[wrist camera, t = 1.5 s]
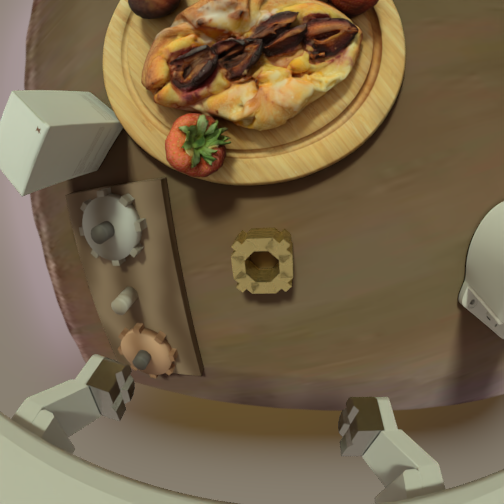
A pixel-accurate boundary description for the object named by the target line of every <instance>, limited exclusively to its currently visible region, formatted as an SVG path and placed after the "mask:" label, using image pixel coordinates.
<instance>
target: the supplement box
mask: <svg viewBox="0 0 504 504" xmlns="http://www.w3.org/2000/svg"><path fill="white" fill-rule="evenodd" d="M122 128H123V127H122V125H121V123H120V122H119V120H118V119H117V117H116V115H115V113H114V112H113V111H112V110H111V109H110V108H109V107H107V106H106V105H105V104H104V103H103V102H101V101H100V100H99V99H98V98H96V97H95V96H94V95H93V94H92V93H90V92H79V91H53V90H25V91H12V92H11V95H10V97H9V100H8V102H7V105H6V107H5V110H4V112H3V115H2V118H1V121H0V169H1V171H2V172H3V173H4V174H5V176H6V177H7V178H8V179H9V181H10V182H11V183H12V184H13V186H14V187H15V188H16V189H17V191H18V192H19V193H20V195H21V196H25V195H27V194H30V193H32V192H35V191H38V190H40V189H43V188H46V187H49V186H51V185H54V184H57V183H60V182H63V181H66V180H69V179H72V178H75V177H78V176H81V175H84V174H88V173H91V172H94V171H97V170H98V169H99V167H100V165H101V163H102V162H103V160H104V158H105V156H106V155H107V153H108V151H109V150H110V148H111V146H112V145H113V143H114V141H115V140H116V138H117V136H118V135H119V133H120V132H121V130H122Z"/></svg>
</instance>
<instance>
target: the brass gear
mask: <svg viewBox="0 0 504 504" xmlns="http://www.w3.org/2000/svg"><path fill="white" fill-rule="evenodd" d="M232 248H233V249H234V251H233V253H232V255H231V261H232V269H233V277H234V279H235V280H236V281H237V282H238V283H237V286H236V288H238V289H239V290H240V291H241V292H244V291H245V290H246V289H247V290H248V291H250V292H251V293H252V294H265V293H277V292H278V291H279V290H280V289H283V290H284V291H285V292H286V291H287V290H289V289H290V288H291V287H292V278H293V243H292V242H291V234H290V233H289V232H288V231H287V230H286V229H284V230H283V231H282V232H279V231H278V230H277V229H276V228H251V230H250V231H249V232H248V233H247V234H246V233H245V232H244V231H243V230H242V231H241V232H240V233H239V234H238V236H237V237H236V239H235V241H234V243H233V245H232ZM254 251H269V252H270V253H271V254H272V255H274V256H275V257H276V258H277V259H278V260H279V263H278V264H277V265H276V266H275V267H274V268H273V269H259V268H258V267H257V266H256V265H255V264H253V263H252V262H251V261H250V255H251V254H252V253H253V252H254Z"/></svg>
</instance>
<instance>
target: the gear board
mask: <svg viewBox="0 0 504 504" xmlns="http://www.w3.org/2000/svg"><path fill="white" fill-rule="evenodd" d="M65 196H66V201H67V206H68V211H69V215H70V220H71V224H72V228H73V233H74V237H75V241H76V244H77V248H78V252H79V256H80V259H81V263H82V266H83V269H84V273H85V276H86V279H87V282H88V286H89V289H90V292H91V295H92V298H93V301H94V303H95V306H96V309H97V312H98V315H99V317H100V320H101V323H102V325H103V328H104V330H105V333H106V335H107V338H108V340H109V343H110V345H111V348H112V350H113V352H114V355H115V357H116V359H117V361H119V362H122V363H125V364H128V365H130V367H131V368H133V369H134V370H135V371H136V370H137V369H138V370H140V371H142V372H145V373H148V374H149V375H150V377H152V378H157V376H158V375H161V374H164V373H166V374H168V375H170V374H171V373H176V374H185V375H194V376H202V373H203V370H204V368H203V364H202V360H201V356H200V352H199V348H198V343H197V339H196V335H195V331H194V326H193V322H192V318H191V313H190V309H189V304H188V299H187V295H186V290H185V285H184V280H183V275H182V270H181V265H180V259H179V254H178V248H177V243H176V237H175V231H174V225H173V219H172V213H171V207H170V200H169V193H168V186H167V179H166V177H165V178H157V179H150V180H143V181H136V182H129V183H123V184H117V185H111V186H105V187H99V188H94V189H88V190H83V191H78V192H73V193H70V194H67V195H65Z"/></svg>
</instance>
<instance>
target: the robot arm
mask: <svg viewBox="0 0 504 504" xmlns="http://www.w3.org/2000/svg"><path fill="white" fill-rule="evenodd" d="M458 300H459V302H460V303H461V304H462V305H463V306H464V307H465V308H466V309H467V310H469V311H470V312H471V313H472V314H474V315H475V316H476V317H477V318H478V319H480V320H481V321H482V322H483V323H484V324H485V325H487V326H488V327H489V328H490V329H491V330H492V331H494V332H495V333H496V334H497V335H498V336H499V337H500V338H502V339H504V202H501V203H500V204H498V205H496V206H495V207H494V208H493V209H491V210H490V211H489V212H488V214H487V215H486V216H485V217H484V218H483V220H482V221H481V223H480V224H479V226H478V228H477V230H476V232H475V234H474V236H473V238H472V241H471V244H470V247H469V251H468V255H467V262H466V276H465V281H464V283H463V286H462V288H461V291H460V294H459V298H458ZM471 300H472V301H471ZM131 372H132V371H131V367H130V365H128V364H125V363H122V362H119V361H115V360H112V359H109V358H106V357H103V356H100V355H97V354H95V355H93V356H92V357H91V358H90V359H89V361H88V362H87V363H86V365H85V366H84V368H83V369H82V370H81V372H80V373H79V374H78V376H77V377H76V379H75V380H72V379H71V380H69V381H66V382H64V383H62V384H59V385H57V386H55V387H52V388H50V389H48V390H45V391H43V392H41V393H38V394H36V395H33V396H31V397H28V398H27V399H26V400H25V401H24V402H23V404H22V405H21V406H20V408H19V409H18V410H17V412H16V413H15V414H14V416H13V417H12V419H10V418H9V417H7V416H6V415H4V414H3V413H2V412H0V504H238V503H231V502H224V501H218V500H212V499H207V498H202V497H197V496H192V495H187V494H183V493H179V492H175V491H171V490H168V489H164V488H160V487H157V486H153V485H150V484H147V483H144V482H141V481H137V480H134V479H132V478H128V477H126V476H123V475H120V474H117V473H115V472H112V471H109V470H107V469H105V468H102V467H100V466H98V465H95V464H93V463H91V462H88V461H86V460H84V459H82V458H79V457H77V456H75V455H73V452H74V450H75V448H74V445H73V444H72V442H71V441H70V439H69V438H68V437H70V436H71V435H73V434H74V433H76V432H78V431H79V430H81V429H82V428H84V427H85V426H87V425H89V424H90V423H91V422H93V421H95V420H96V419H97V418H99V417H101V415H102V416H105V417H108V418H111V419H114V420H117V421H120V420H121V418H122V416H123V414H124V412H125V410H126V407H125V404H126V403H127V402H129V401H131V399H132V396H133V394H134V389H135V383H134V379H133V378H132V377H131V376H130V374H131ZM346 407H347V408H345V409H344V410H342V412H341V415H340V417H339V422H338V429H339V433H340V435H341V436H342V437H343V438H342V439H341V441H340V448H341V456H362V458H363V459H364V460H365V461H366V463H367V464H368V466H369V467H370V468H371V470H372V471H373V472H374V473H375V475H376V476H377V477H378V479H379V480H380V481H381V482H382V484H383V485H384V486H385V489H384V490H383V491H382V492H381V493H379V494H378V495H377V496H376V497H375V504H504V469H503V470H500V471H498V472H496V473H493V474H490V475H488V476H485V477H483V478H480V479H477V480H474V481H471V482H468V483H465V484H463V485H459V486H456V487H453V488H449V489H446V490H445V486H444V482H443V478H442V475H441V471H440V467H439V464H438V463H437V462H436V461H435V460H434V459H433V458H432V457H431V456H430V455H429V454H427V453H426V452H425V451H424V450H423V449H422V448H421V447H420V446H419V445H417V444H416V443H415V442H414V441H413V440H412V439H411V438H410V437H409V436H408V435H406V434H405V433H404V432H403V431H402V430H398V429H397V425H396V421H395V418H394V414H393V411H392V407H391V404H390V400H389V398H388V397H350V398H349V399H348V400H347V402H346Z"/></svg>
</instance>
